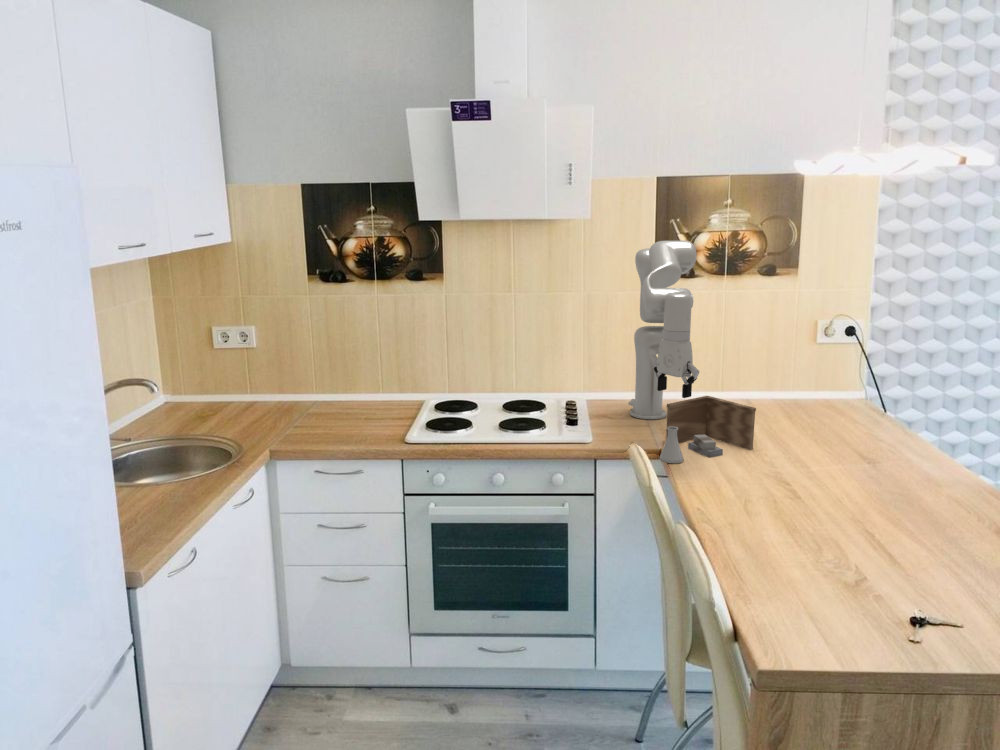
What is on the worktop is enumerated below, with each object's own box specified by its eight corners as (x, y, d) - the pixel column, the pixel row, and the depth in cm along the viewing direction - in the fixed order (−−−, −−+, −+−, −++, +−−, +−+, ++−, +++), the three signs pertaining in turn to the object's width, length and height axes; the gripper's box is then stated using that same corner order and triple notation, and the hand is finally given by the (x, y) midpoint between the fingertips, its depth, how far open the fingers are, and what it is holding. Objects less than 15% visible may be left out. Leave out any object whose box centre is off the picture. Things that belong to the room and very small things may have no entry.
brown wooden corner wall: (665, 444, 268) (666, 404, 265) (705, 434, 278) (707, 395, 275) (713, 460, 253) (715, 417, 250) (753, 449, 263) (756, 408, 260)
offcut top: (693, 442, 263) (693, 435, 263) (704, 441, 264) (704, 434, 264) (704, 450, 256) (704, 442, 255) (715, 449, 256) (715, 441, 256)
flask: (684, 465, 249) (685, 431, 246) (658, 463, 250) (659, 430, 248) (683, 457, 256) (685, 425, 253) (659, 455, 257) (660, 423, 255)
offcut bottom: (688, 450, 264) (688, 442, 263) (700, 447, 266) (701, 440, 266) (709, 459, 255) (709, 451, 255) (722, 456, 257) (722, 449, 257)
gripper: (645, 332, 249) (643, 389, 253) (690, 342, 235) (687, 402, 239) (663, 329, 253) (661, 385, 257) (708, 339, 240) (705, 398, 244)
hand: (674, 393), depth 248 cm, fingers open, 9 cm apart
